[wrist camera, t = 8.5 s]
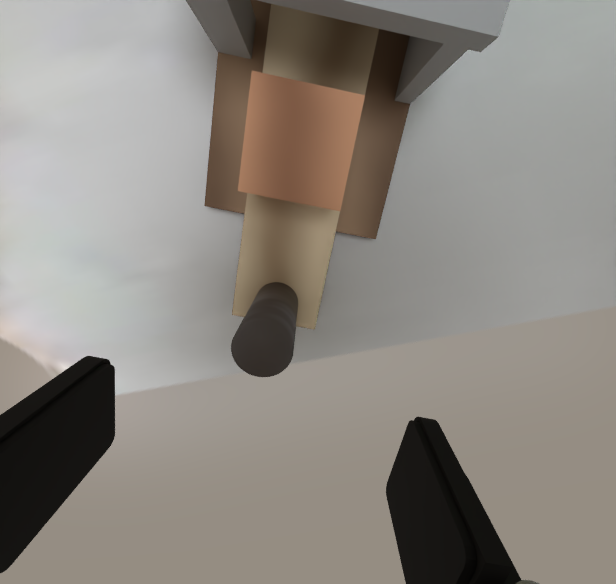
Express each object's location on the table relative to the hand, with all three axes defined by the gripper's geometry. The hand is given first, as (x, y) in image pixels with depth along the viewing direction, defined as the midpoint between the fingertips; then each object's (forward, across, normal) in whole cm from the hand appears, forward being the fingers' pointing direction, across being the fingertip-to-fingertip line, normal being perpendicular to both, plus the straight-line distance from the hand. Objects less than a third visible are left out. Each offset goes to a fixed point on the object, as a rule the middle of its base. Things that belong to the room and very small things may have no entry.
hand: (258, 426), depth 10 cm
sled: (+13, +1, -9) cm, 16 cm away
